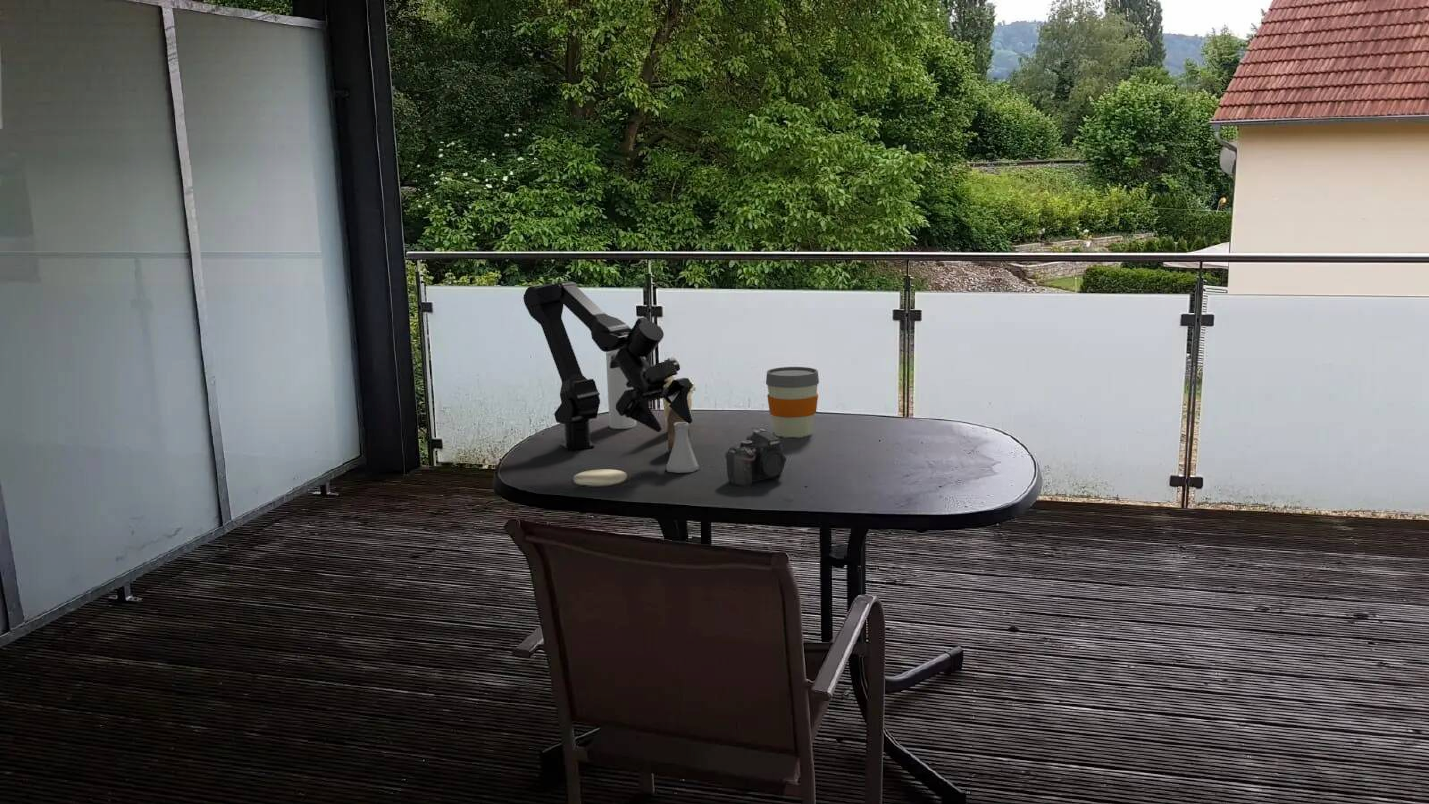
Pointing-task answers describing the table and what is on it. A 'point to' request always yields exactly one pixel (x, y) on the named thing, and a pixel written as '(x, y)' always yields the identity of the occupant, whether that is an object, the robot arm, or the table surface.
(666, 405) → the unicorn
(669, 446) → the pepper shaker
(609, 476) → the coaster
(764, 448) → the camera
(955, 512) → the table surface
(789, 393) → the reusable coffee cup
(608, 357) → the spray bottle
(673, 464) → the flask
